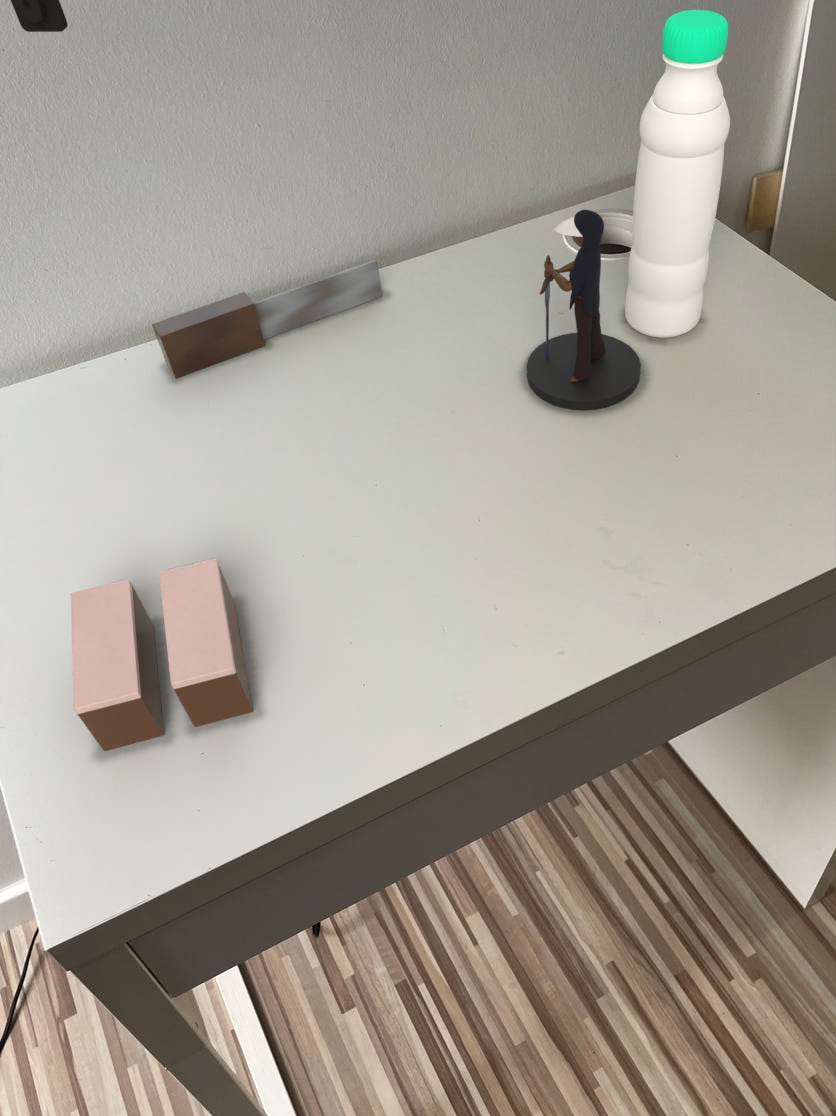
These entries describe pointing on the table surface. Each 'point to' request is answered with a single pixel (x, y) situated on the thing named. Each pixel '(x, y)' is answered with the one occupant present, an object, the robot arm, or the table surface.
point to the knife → (259, 318)
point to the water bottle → (678, 178)
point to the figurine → (582, 333)
